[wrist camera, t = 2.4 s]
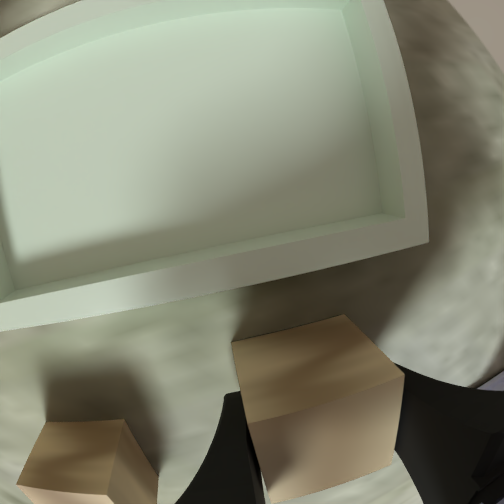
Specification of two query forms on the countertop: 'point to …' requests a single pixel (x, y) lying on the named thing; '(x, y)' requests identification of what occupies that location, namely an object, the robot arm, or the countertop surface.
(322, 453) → the cube
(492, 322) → the countertop surface
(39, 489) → the cube
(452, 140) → the countertop surface
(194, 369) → the countertop surface
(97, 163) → the tray
